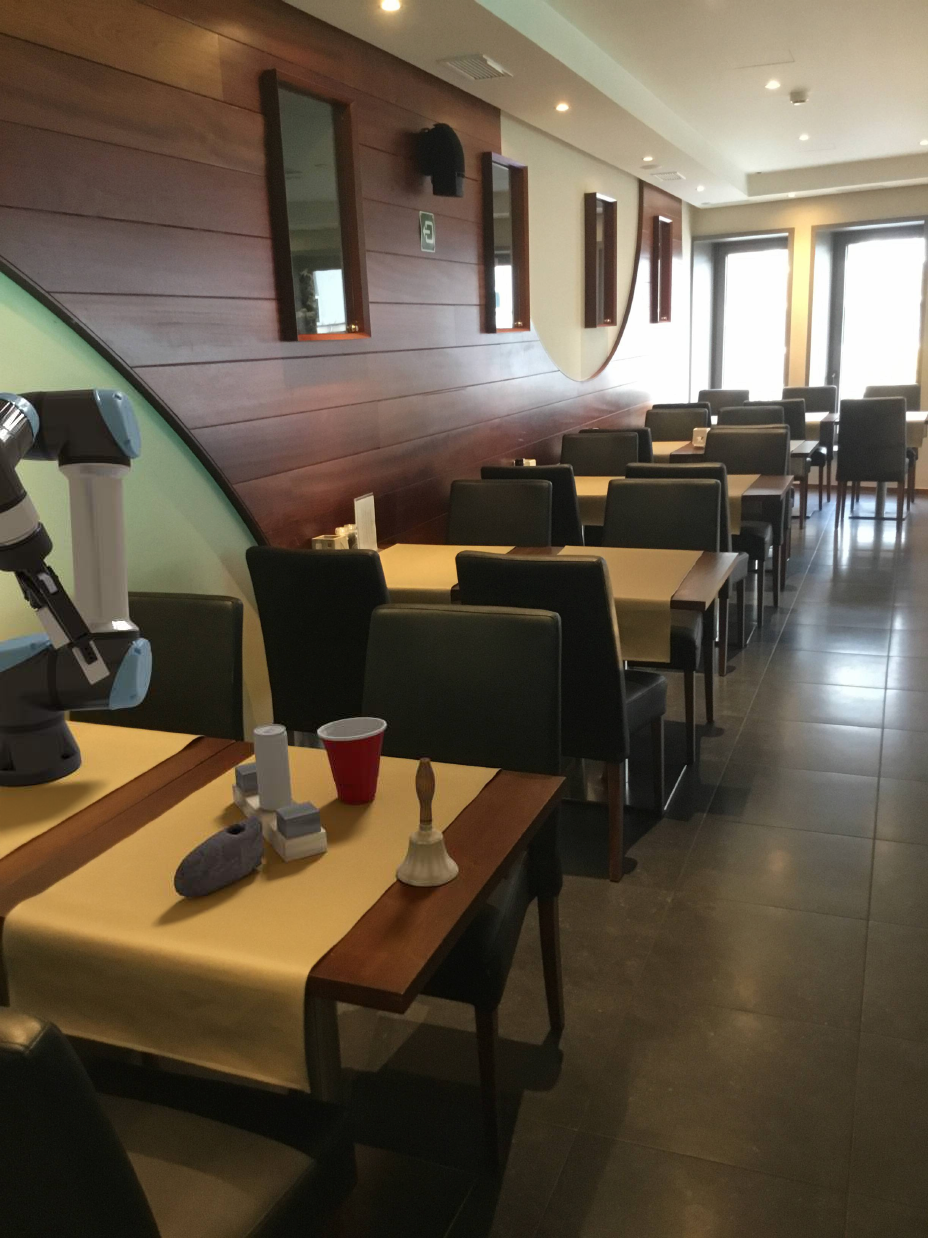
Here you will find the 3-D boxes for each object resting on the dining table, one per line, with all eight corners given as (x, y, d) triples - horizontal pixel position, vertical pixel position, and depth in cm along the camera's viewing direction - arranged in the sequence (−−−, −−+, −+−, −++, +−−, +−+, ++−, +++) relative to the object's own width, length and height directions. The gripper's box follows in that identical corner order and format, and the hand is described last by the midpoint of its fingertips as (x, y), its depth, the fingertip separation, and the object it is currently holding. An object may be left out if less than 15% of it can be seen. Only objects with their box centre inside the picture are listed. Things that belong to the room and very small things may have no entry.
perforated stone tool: (189, 913, 125) (183, 862, 124) (163, 901, 128) (157, 851, 127) (279, 866, 137) (275, 818, 135) (254, 855, 140) (250, 809, 138)
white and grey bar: (233, 801, 158) (230, 766, 156) (270, 793, 161) (267, 758, 159) (286, 862, 137) (283, 821, 136) (327, 851, 140) (324, 811, 139)
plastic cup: (361, 777, 166) (357, 708, 163) (404, 795, 158) (401, 723, 155) (307, 798, 158) (302, 726, 155) (350, 817, 151) (345, 742, 148)
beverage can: (298, 802, 149) (293, 726, 146) (278, 815, 145) (272, 737, 142) (273, 797, 151) (266, 722, 149) (252, 809, 147) (245, 732, 144)
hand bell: (435, 851, 139) (430, 743, 135) (471, 874, 133) (467, 760, 129) (384, 870, 134) (378, 758, 131) (419, 894, 128) (413, 777, 124)
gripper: (-44, 520, 136) (26, 643, 148) (16, 575, 119) (90, 709, 131) (9, 495, 140) (73, 617, 152) (74, 545, 122) (141, 679, 134)
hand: (81, 660), depth 141 cm, fingers open, 13 cm apart
